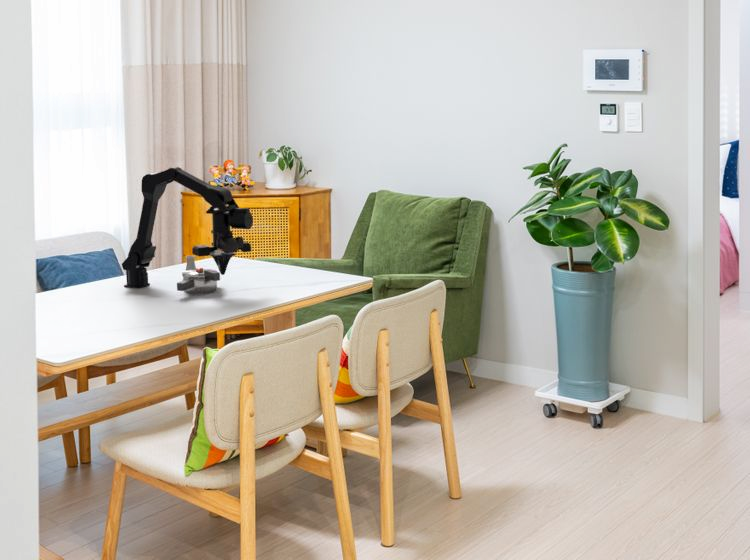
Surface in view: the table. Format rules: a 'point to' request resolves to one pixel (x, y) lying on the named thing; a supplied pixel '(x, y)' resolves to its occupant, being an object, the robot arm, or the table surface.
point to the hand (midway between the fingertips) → (222, 274)
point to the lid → (202, 274)
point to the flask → (190, 263)
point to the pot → (197, 285)
